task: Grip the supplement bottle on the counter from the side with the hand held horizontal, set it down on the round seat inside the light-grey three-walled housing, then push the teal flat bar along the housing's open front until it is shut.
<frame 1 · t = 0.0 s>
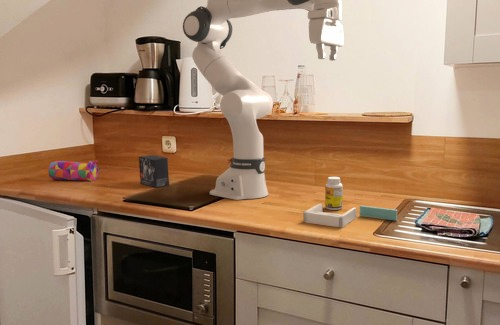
hand: (327, 59, 149), 48 cm above the worktop, fingers open, 8 cm apart
small box: (154, 185, 195), on the worktop
housing: (330, 219, 138), on the worktop
teal flat bar: (378, 212, 138), point 2 cm above the worktop, slide at 12.0 cm
supplement bottle: (333, 209, 151), on the worktop
pencil case: (75, 180, 210), on the worktop
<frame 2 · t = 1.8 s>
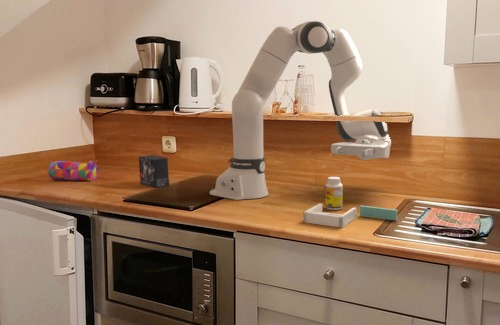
hand: (350, 152, 158), 17 cm above the worktop, fingers open, 8 cm apart
nothing on the worktop moved.
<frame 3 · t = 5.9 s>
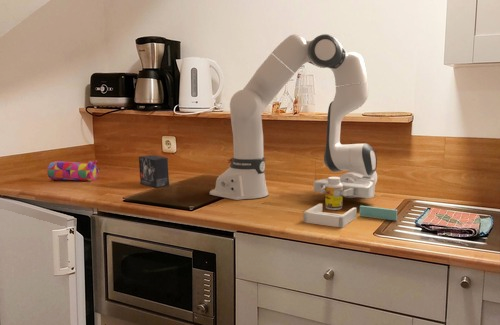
hand: (332, 192, 150), 6 cm above the worktop, fingers closed on supplement bottle, 6 cm apart
supplement bottle: (333, 208, 151), on the worktop, touching gripper
when the fingers open (7 cm above the worktop, at t = 10.7 s): supplement bottle stays where it is, resting on housing.
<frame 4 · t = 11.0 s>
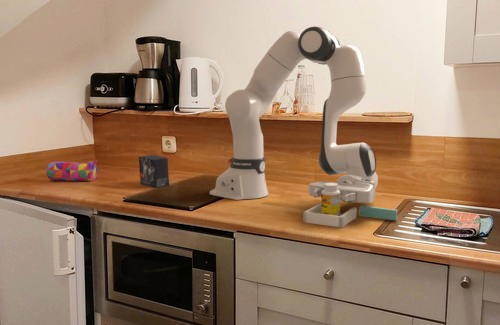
hand: (329, 196, 136), 7 cm above the worktop, fingers open, 8 cm apart
supplement bottle: (330, 218, 138), resting on housing
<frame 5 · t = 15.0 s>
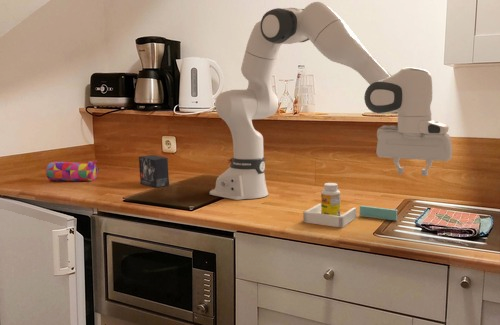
hand: (412, 174, 131), 14 cm above the worktop, fingers open, 5 cm apart
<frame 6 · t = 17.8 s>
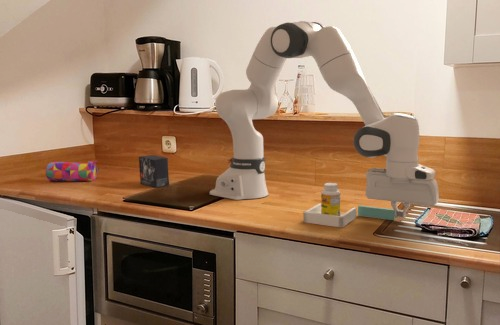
hand: (400, 216, 135), 1 cm above the worktop, fingers closed
teal flat bar: (376, 212, 139), point 2 cm above the worktop, slide at 11.5 cm, touching gripper
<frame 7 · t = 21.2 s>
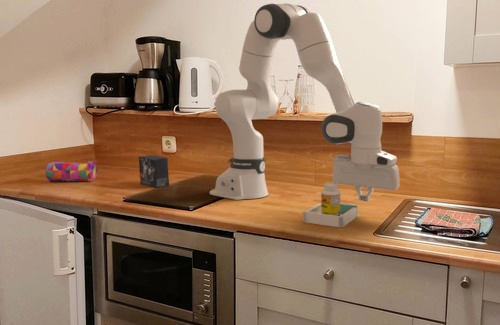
hand: (364, 200, 142), 4 cm above the worktop, fingers closed
teal flat bar: (339, 208, 145), point 2 cm above the worktop, slide at 0.0 cm
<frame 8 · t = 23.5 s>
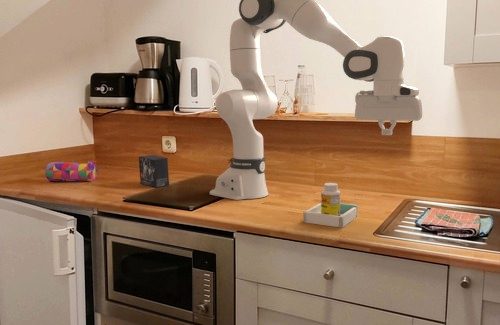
hand: (386, 134, 145), 24 cm above the worktop, fingers closed
at the end: supplement bottle inside the target area on the housing (0.1 cm from its centre), point 0.5 cm above the housing's base; supplement bottle tilted 0°; teal flat bar slide at 0.0 cm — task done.
